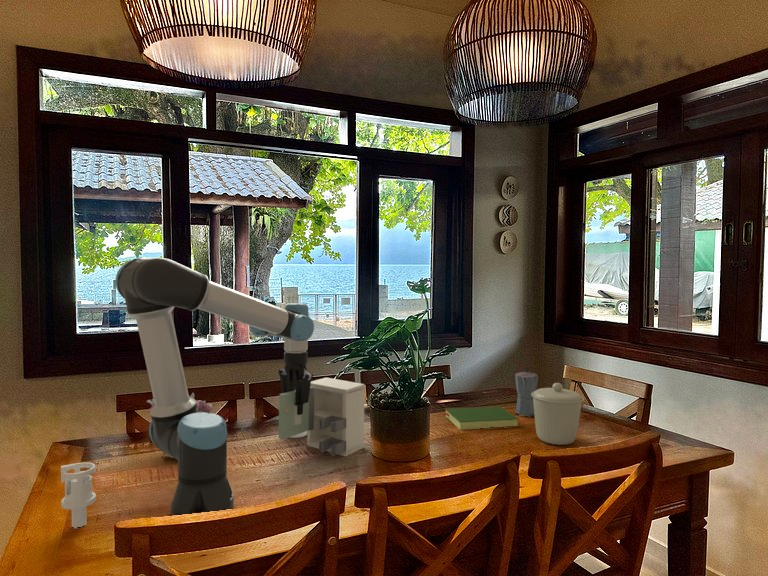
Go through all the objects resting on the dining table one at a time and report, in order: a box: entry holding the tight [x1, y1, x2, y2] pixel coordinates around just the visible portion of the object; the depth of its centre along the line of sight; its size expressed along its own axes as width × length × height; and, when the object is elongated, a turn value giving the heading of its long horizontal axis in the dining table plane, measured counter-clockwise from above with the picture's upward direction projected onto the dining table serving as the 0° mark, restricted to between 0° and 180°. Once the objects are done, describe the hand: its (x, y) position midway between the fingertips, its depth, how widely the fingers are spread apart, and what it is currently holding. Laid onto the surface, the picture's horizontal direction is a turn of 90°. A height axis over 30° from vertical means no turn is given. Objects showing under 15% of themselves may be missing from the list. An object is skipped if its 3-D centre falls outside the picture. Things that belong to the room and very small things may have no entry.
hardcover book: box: [444, 405, 519, 431], centre depth 210 cm, size 25×19×4 cm
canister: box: [531, 382, 585, 446], centre depth 188 cm, size 18×18×21 cm
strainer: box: [60, 461, 97, 529], centre depth 123 cm, size 7×7×15 cm
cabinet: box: [306, 376, 366, 457], centre depth 176 cm, size 16×17×22 cm
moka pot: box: [514, 367, 539, 417], centre depth 220 cm, size 10×15×20 cm, turn 163°
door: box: [278, 386, 315, 440], centre depth 169 cm, size 15×4×14 cm, turn 146°
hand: (294, 423), depth 168 cm, fingers closed on door, 2 cm apart
